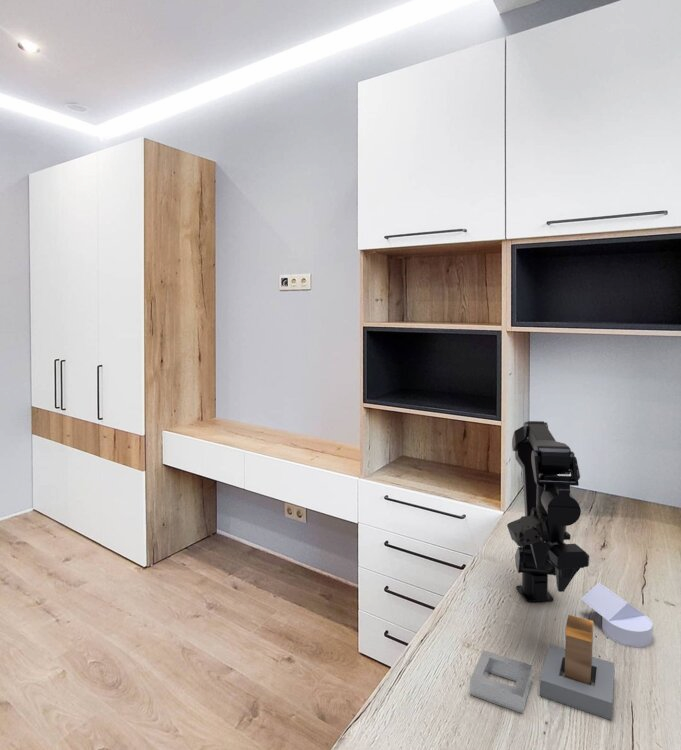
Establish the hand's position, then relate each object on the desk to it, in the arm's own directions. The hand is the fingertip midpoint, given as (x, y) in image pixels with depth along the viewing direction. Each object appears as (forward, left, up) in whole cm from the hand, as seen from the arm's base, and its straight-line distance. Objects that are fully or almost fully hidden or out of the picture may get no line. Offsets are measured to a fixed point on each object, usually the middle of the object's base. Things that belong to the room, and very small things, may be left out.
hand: (549, 579), depth 102 cm
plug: (+15, -2, -12) cm, 19 cm away
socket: (+15, -2, -12) cm, 19 cm away
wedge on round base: (-1, +16, -12) cm, 20 cm away
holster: (+14, -15, -12) cm, 24 cm away
